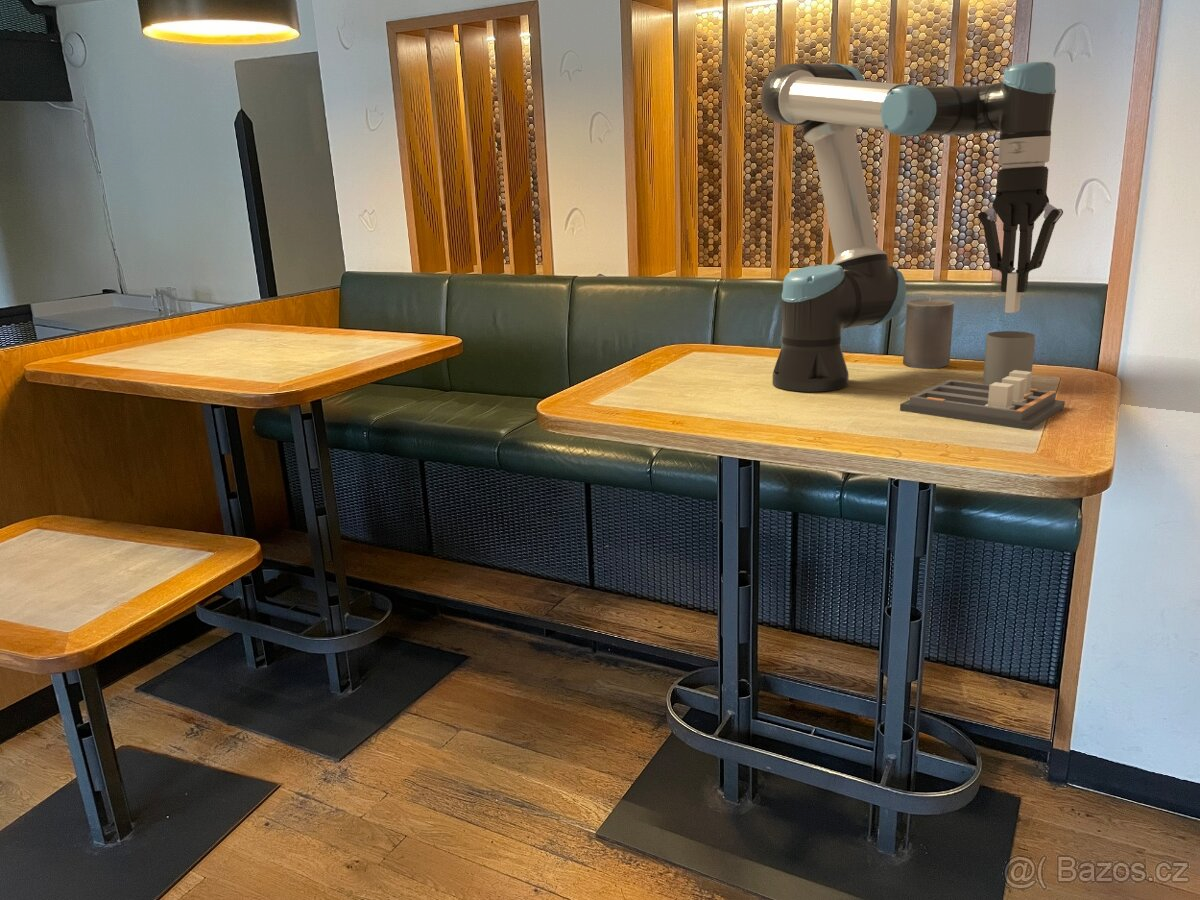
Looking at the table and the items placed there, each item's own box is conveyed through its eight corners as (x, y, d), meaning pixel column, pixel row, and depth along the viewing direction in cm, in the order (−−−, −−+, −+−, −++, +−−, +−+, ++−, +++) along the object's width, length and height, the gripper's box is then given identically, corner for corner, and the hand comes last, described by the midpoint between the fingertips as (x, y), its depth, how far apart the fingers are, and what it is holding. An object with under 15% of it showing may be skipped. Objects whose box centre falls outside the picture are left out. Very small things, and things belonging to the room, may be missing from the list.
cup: (1034, 390, 163) (1040, 338, 161) (988, 390, 165) (992, 338, 162) (1023, 380, 171) (1028, 330, 168) (979, 380, 173) (983, 331, 170)
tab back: (1003, 398, 154) (1005, 372, 152) (1009, 395, 155) (1011, 369, 154) (1027, 401, 151) (1029, 375, 149) (1032, 398, 153) (1035, 372, 151)
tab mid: (996, 405, 149) (998, 378, 148) (1002, 402, 151) (1004, 375, 150) (1020, 409, 147) (1023, 381, 145) (1026, 405, 149) (1029, 378, 147)
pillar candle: (899, 360, 195) (902, 293, 191) (944, 359, 194) (949, 292, 189) (907, 369, 186) (911, 300, 182) (955, 368, 185) (960, 298, 180)
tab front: (983, 412, 146) (986, 384, 144) (990, 409, 147) (992, 381, 146) (1008, 416, 143) (1010, 387, 141) (1014, 412, 145) (1017, 384, 143)
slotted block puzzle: (899, 410, 154) (900, 395, 154) (940, 391, 166) (941, 377, 165) (1029, 429, 140) (1031, 412, 139) (1064, 407, 151) (1066, 392, 150)
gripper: (973, 169, 142) (964, 312, 149) (1059, 163, 134) (1046, 316, 140) (990, 168, 147) (981, 307, 154) (1073, 163, 139) (1060, 310, 145)
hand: (1012, 311), depth 147 cm, fingers closed
